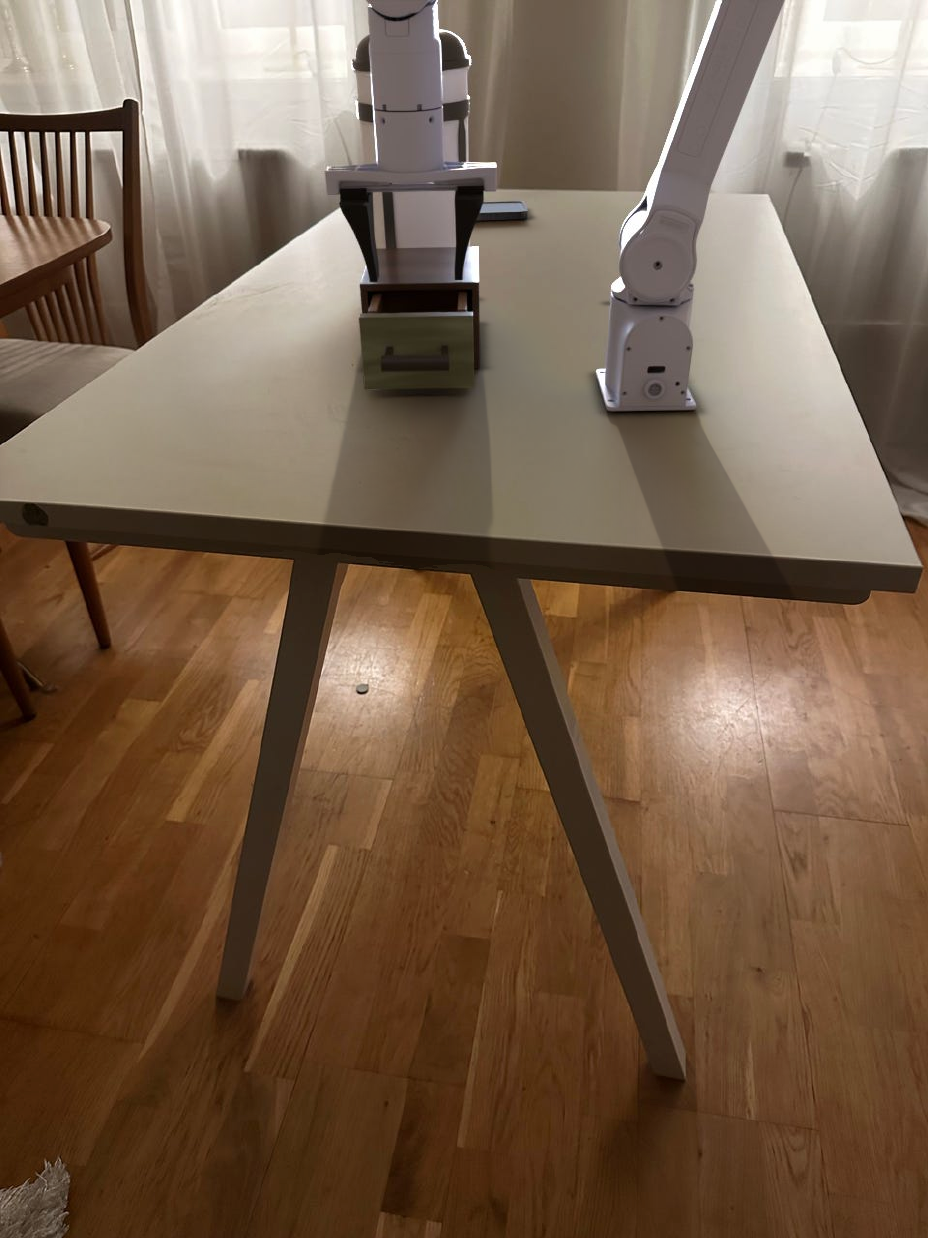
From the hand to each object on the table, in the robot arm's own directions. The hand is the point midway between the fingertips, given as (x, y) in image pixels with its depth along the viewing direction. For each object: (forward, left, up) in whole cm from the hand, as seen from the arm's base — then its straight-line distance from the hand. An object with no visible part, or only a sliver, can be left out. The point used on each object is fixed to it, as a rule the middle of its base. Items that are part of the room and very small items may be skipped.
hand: (416, 277), depth 82 cm
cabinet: (+10, 0, -10) cm, 14 cm away
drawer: (0, 0, -9) cm, 9 cm away
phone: (+71, -6, -10) cm, 72 cm away
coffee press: (+30, +2, -10) cm, 32 cm away
